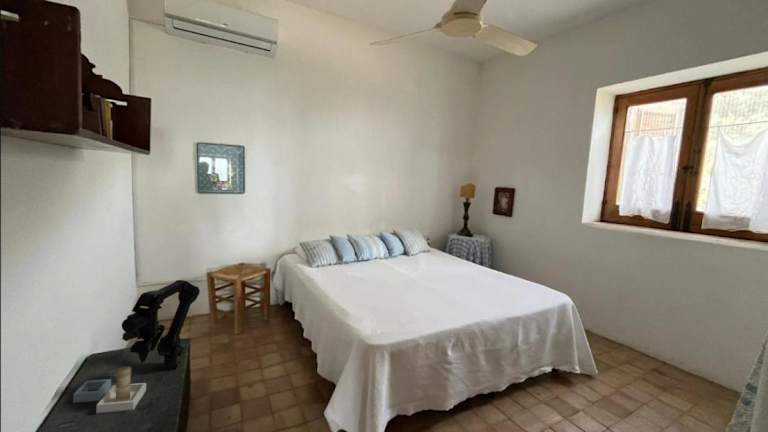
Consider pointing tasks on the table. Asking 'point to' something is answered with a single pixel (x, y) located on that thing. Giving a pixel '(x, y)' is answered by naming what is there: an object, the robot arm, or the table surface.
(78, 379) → the table surface
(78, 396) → the socket block
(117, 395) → the birch dowel
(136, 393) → the tray
